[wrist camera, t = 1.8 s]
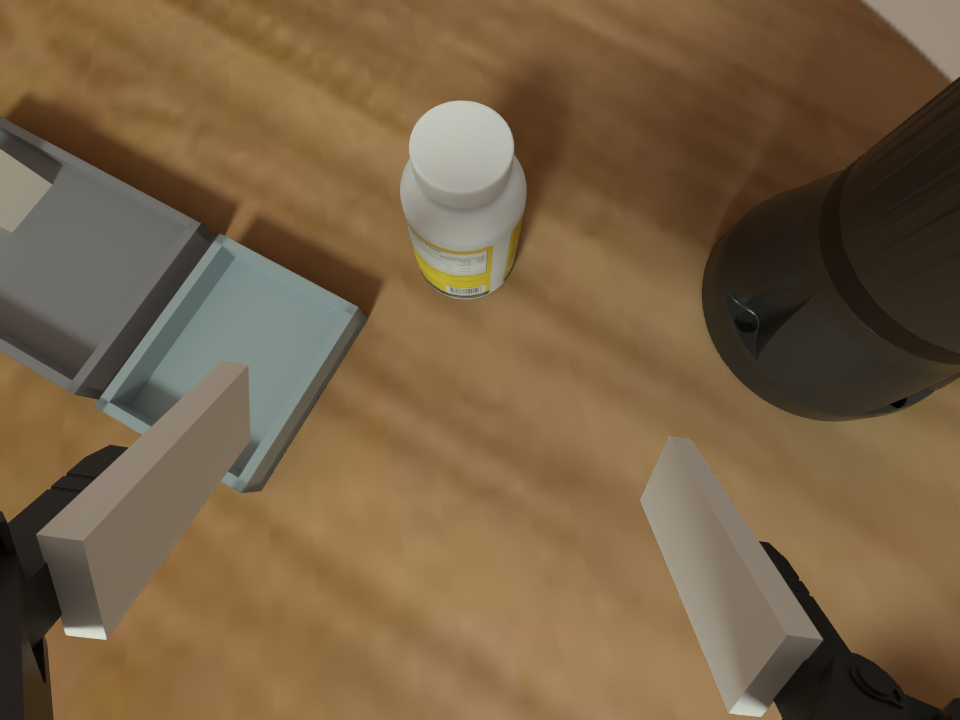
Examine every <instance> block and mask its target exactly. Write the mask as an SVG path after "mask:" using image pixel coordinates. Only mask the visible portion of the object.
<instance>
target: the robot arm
mask: <svg viewBox="0 0 960 720" xmlns="http://www.w3.org/2000/svg"><path fill="white" fill-rule="evenodd" d="M702 302H703V311H704V316H705V321H706V324H707V328H708V331H709V334H710V336H711V338H712V341H713V343H714V345H715V347H716V349H717V351H718V352H719V354H720V356H721V357H722V359H723V360H724V362H725V363H726V365H727V366H728V367H729V369H730V370H731V371H732V372H733V373H734V374H735V376H736V377H737V378H738V379H739V380H740V381H741V382H742V383H743V384H744V385H745V386H747V387H748V388H749V389H750V390H751V391H752V392H754V393H755V394H757V395H758V396H759V397H761V398H762V399H764V400H765V401H767V402H769V403H770V404H772V405H774V406H776V407H778V408H780V409H782V410H784V411H787V412H789V413H792V414H795V415H798V416H801V417H805V418H809V419H815V420H821V421H849V420H856V419H864V418H871V417H878V416H883V415H887V414H890V413H894V412H897V411H900V410H902V409H905V408H907V407H910V406H912V405H914V404H915V403H917V402H919V401H921V400H922V399H924V398H925V397H927V396H929V395H930V394H931V393H933V392H934V391H936V390H938V389H940V388H942V387H944V386H946V385H948V384H949V383H951V382H953V381H954V380H956V379H958V378H959V377H960V77H959V78H957V79H956V80H955V81H954V82H953V83H951V84H950V85H949V86H948V87H946V88H945V89H944V90H943V91H941V92H940V93H939V94H938V95H937V96H935V97H934V98H933V99H932V100H930V101H929V102H928V103H927V104H925V105H924V106H923V107H922V108H921V109H919V110H918V111H917V112H916V113H914V114H913V115H912V116H911V117H909V118H908V119H907V120H906V121H904V122H903V123H902V124H901V125H899V126H898V127H897V128H896V129H894V130H893V131H892V132H891V133H889V134H888V135H887V136H886V137H884V138H883V139H882V140H880V141H879V142H878V143H877V144H875V145H874V146H873V147H872V148H871V149H869V150H868V151H867V152H866V153H865V154H863V155H862V156H861V157H860V158H858V159H857V160H856V161H855V162H853V163H852V164H851V165H850V166H848V167H847V168H846V169H844V170H841V171H838V172H836V173H833V174H831V175H828V176H825V177H823V178H820V179H817V180H815V181H812V182H810V183H807V184H805V185H803V186H800V187H798V188H795V189H793V190H790V191H786V192H783V193H780V194H777V195H775V196H773V197H771V198H769V199H767V200H765V201H764V202H762V203H760V204H759V205H757V206H756V207H754V208H753V209H752V210H750V211H749V212H748V213H747V214H746V215H744V216H743V217H742V218H741V219H740V220H739V221H738V222H737V223H736V224H735V225H734V226H733V227H732V228H730V229H729V230H728V231H727V232H726V233H725V235H724V236H723V237H722V238H721V239H720V241H719V242H718V244H717V245H716V247H715V248H714V250H713V252H712V254H711V256H710V258H709V261H708V263H707V267H706V270H705V274H704V279H703V288H702ZM249 441H250V411H249V368H248V365H244V364H238V363H232V362H226V361H221V362H220V363H219V364H218V365H217V366H216V367H215V368H214V369H213V370H212V371H210V372H209V373H208V374H207V375H206V376H205V377H204V378H203V379H202V380H201V381H200V382H199V383H198V384H197V385H195V386H194V387H193V388H192V389H191V390H190V391H189V392H188V393H187V394H186V395H185V396H184V397H183V398H182V399H181V400H179V401H178V402H177V403H176V404H175V405H174V406H173V407H172V408H171V409H170V410H169V411H168V412H167V413H166V414H164V415H163V416H162V417H161V418H160V419H159V420H158V421H157V422H156V423H155V424H154V425H153V426H152V427H151V428H149V429H148V430H147V431H146V432H145V433H144V434H143V435H142V436H141V437H140V438H139V439H138V440H137V441H136V442H135V443H133V444H132V445H131V446H130V447H129V448H127V447H121V446H114V445H109V446H107V447H105V448H103V449H101V450H99V451H97V452H95V453H93V454H91V455H89V456H87V457H85V458H84V459H83V460H81V461H80V462H79V463H78V464H77V465H76V466H74V467H73V468H72V469H71V470H70V471H69V472H67V475H66V476H63V477H61V478H60V479H59V480H58V481H57V482H56V483H54V484H53V485H52V486H51V489H50V490H46V491H45V492H44V493H43V494H42V495H40V496H39V497H38V498H37V499H36V500H35V501H33V502H32V503H31V504H30V505H29V506H28V507H26V508H25V509H24V510H23V511H22V512H21V513H19V514H18V515H17V516H16V517H15V518H14V519H12V520H11V521H10V522H9V523H8V524H7V521H6V519H5V517H4V515H3V513H2V512H1V511H0V720H53V708H52V696H51V684H50V672H49V660H48V648H47V642H46V639H45V636H44V635H45V634H46V633H47V632H48V631H49V629H50V628H51V627H52V626H53V625H54V623H55V622H56V621H57V620H58V619H59V617H60V616H61V620H62V623H63V626H64V630H65V633H66V635H69V636H78V637H86V638H95V639H103V640H107V639H108V637H109V636H110V635H111V633H112V632H113V631H114V629H115V628H116V626H117V625H118V624H119V622H120V621H121V619H122V618H123V617H124V615H125V614H126V612H127V611H128V610H129V608H130V607H131V605H132V604H133V603H134V601H135V600H136V598H137V597H138V596H139V594H140V593H141V592H142V590H143V589H144V587H145V586H146V585H147V583H148V582H149V580H150V579H151V578H152V576H153V575H154V573H155V572H156V571H157V569H158V568H159V566H160V565H161V564H162V562H163V561H164V559H165V558H166V557H167V555H168V554H169V553H170V551H171V550H172V548H173V547H174V546H175V544H176V543H177V541H178V540H179V539H180V537H181V536H182V534H183V533H184V532H185V530H186V529H187V527H188V526H189V525H190V523H191V522H192V520H193V519H194V518H195V516H196V515H197V514H198V512H199V511H200V509H201V508H202V507H203V505H204V504H205V502H206V501H207V500H208V498H209V497H210V495H211V494H212V493H213V491H214V490H215V488H216V487H217V486H218V484H219V483H220V482H221V480H222V479H223V477H224V476H225V475H226V473H227V472H228V470H229V469H230V468H231V466H232V465H233V463H234V462H235V461H236V459H237V458H238V456H239V455H240V454H241V452H242V451H243V449H244V448H245V447H246V445H247V444H248V443H249ZM640 501H641V504H642V506H643V509H644V511H645V514H646V516H647V518H648V521H649V523H650V526H651V528H652V530H653V533H654V535H655V538H656V540H657V542H658V545H659V547H660V550H661V552H662V554H663V557H664V559H665V562H666V564H667V566H668V569H669V571H670V574H671V576H672V578H673V581H674V583H675V586H676V588H677V591H678V593H679V595H680V598H681V600H682V603H683V605H684V607H685V610H686V612H687V615H688V617H689V619H690V622H691V624H692V627H693V629H694V631H695V634H696V636H697V639H698V641H699V643H700V646H701V648H702V651H703V653H704V656H705V658H706V660H707V663H708V665H709V668H710V670H711V672H712V675H713V677H714V680H715V682H716V684H717V687H718V689H719V692H720V694H721V696H722V699H723V701H724V704H725V706H726V708H727V711H728V713H731V714H739V715H748V716H756V717H761V716H762V715H763V714H764V713H765V711H766V710H767V709H768V708H769V706H770V705H771V704H772V703H773V701H774V702H775V704H776V706H777V708H778V710H779V712H780V714H781V716H782V718H783V719H782V720H960V698H954V699H953V700H952V701H951V702H950V703H949V704H947V705H946V706H945V707H944V708H943V709H942V710H941V709H939V708H936V707H934V706H931V705H929V704H927V703H924V702H922V701H920V700H917V699H915V698H912V697H910V696H908V695H905V694H904V693H903V691H902V690H901V688H900V687H899V685H898V684H897V683H896V682H895V681H894V680H893V679H892V678H891V677H890V676H889V675H888V674H887V672H885V671H884V670H883V669H881V668H880V667H879V666H877V665H876V664H875V663H873V662H872V661H870V660H868V659H866V658H864V657H863V656H861V655H859V654H855V653H851V652H850V650H849V649H848V647H847V646H846V644H845V643H844V642H843V640H842V639H841V637H840V636H839V634H838V633H837V631H836V630H835V629H834V627H833V626H832V624H831V623H830V621H829V620H828V618H827V617H826V616H825V614H824V613H823V611H822V610H821V608H820V607H819V605H818V604H817V603H816V601H815V600H814V598H813V597H812V596H810V595H809V593H810V592H809V591H808V590H807V588H806V587H805V585H804V584H803V582H802V581H799V577H798V575H797V574H796V572H795V571H794V569H793V568H792V566H791V565H790V564H789V562H788V561H787V559H786V558H785V557H783V556H782V555H781V554H780V553H779V552H778V551H777V550H776V549H775V548H774V547H773V546H772V545H771V544H770V543H768V542H761V541H758V539H757V538H756V536H755V535H754V533H753V532H752V530H751V529H750V527H749V526H748V524H747V523H746V521H745V520H744V518H743V517H742V515H741V513H740V512H739V510H738V509H737V507H736V506H735V504H734V503H733V501H732V500H731V498H730V497H729V495H728V494H727V492H726V491H725V489H724V488H723V486H722V484H721V483H720V481H719V480H718V478H717V477H716V475H715V474H714V472H713V471H712V469H711V468H710V466H709V465H708V463H707V462H706V460H705V459H704V457H703V456H702V454H701V452H700V451H699V449H698V448H697V446H696V445H695V443H694V442H693V440H692V439H687V438H681V437H675V436H669V437H668V439H667V442H666V444H665V446H664V448H663V451H662V453H661V455H660V457H659V459H658V462H657V464H656V466H655V468H654V471H653V473H652V475H651V477H650V479H649V482H648V484H647V486H646V488H645V491H644V493H643V495H642V497H641V500H640Z"/></svg>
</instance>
